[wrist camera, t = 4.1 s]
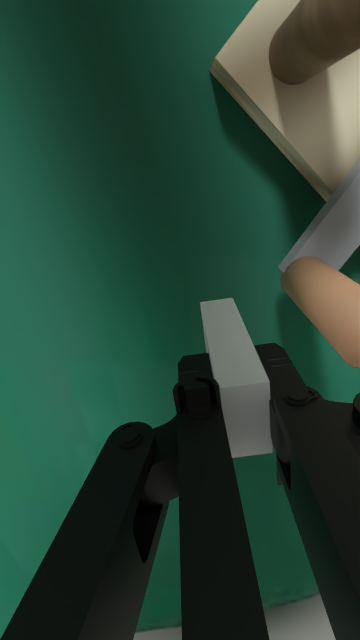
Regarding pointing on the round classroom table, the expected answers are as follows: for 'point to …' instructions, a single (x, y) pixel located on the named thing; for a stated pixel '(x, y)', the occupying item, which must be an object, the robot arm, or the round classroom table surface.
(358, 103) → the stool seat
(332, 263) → the crank handle
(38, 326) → the round classroom table surface
